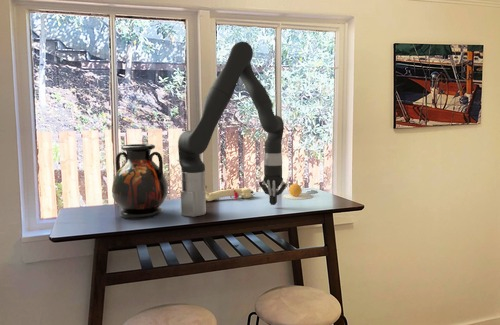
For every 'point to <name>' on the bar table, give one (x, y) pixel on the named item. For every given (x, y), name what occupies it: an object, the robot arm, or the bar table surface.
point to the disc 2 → (310, 192)
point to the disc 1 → (301, 196)
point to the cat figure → (229, 193)
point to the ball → (295, 190)
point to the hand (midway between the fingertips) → (273, 204)
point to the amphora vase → (139, 183)
